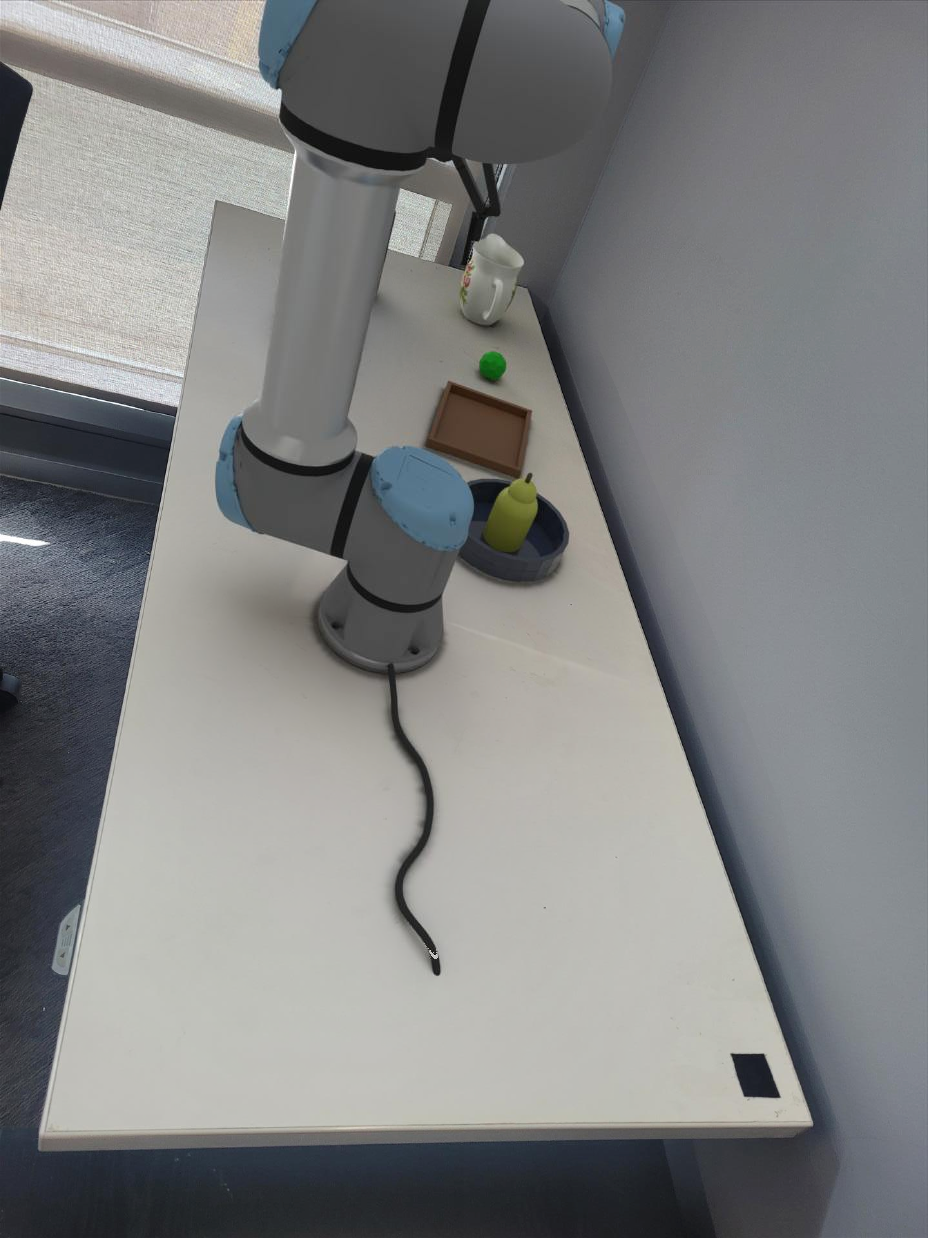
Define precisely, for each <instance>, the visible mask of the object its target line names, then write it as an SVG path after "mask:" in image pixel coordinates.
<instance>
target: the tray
mask: <svg viewBox="0 0 928 1238" xmlns="http://www.w3.org/2000/svg"><path fill="white" fill-rule="evenodd" d="M532 415H533V410H532V409H530V408H527V407H524V406H521V405H518V404H515V403H513V402H509V401H506V400H504V399H501V398H499V397H496V396H493V395H490V394H487V393H485V392H482V391H478V390H477V389H473V388H470V387H467V386H464V385H462V384H460V383H456V382H453V381H451V380H447V383H446V386H445V389H444V391H443V394H442V398H441V400H440V403H439V406H438V409H437V412H436V414H435V418H434V420H433V423H432V426H431V429H430V432H429V435H428V438H427V441H426V443H425V447H426V448H429V449H432V450H434V451H437V452H440V453H443V454H446V455H448V456H452V457H454V458H458V459H461V460H463V461H465V462H469V463H471V464H475V465H478V466H479V467H480V466H481V467H483V468H486V469H489V470H492V471H494V472H497V473H500V474H503V475H506V476H508V477H512V478H515V479H520V476H521V475H522V470H523V465H524V460H525V455H526V448H527V442H528V438H529V431H530V427H531V419H532Z"/></svg>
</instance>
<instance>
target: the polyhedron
mask: <svg viewBox="0 0 928 1238" xmlns="http://www.w3.org/2000/svg"><path fill="white" fill-rule="evenodd" d="M478 364H479V365H478V369H479V372H480V373H481V375H482V376H483V377H484V378H485V379H487V380H490V381H494V380H498V379H500V378H501V377H502V376H503V375H504V373H505V372H506V370H507V361H506V359H505V357H504V355H502V353H500V352H498V351H495V350H491V351H488V352H485V353H484V354H483V355H482V357H481V358H480V360H479V362H478Z"/></svg>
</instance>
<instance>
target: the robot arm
mask: <svg viewBox="0 0 928 1238" xmlns="http://www.w3.org/2000/svg"><path fill="white" fill-rule="evenodd" d="M625 23H626V14H625V11H624V9H623V8H622V7H621V6H619V5H618V4H615V3H613V2H611V1H609V0H265V4H264V9H263V14H262V18H261V23H260V29H259V35H258V45H257V56H258V59H259V60H258V71H259V74H260V77H261V78H262V80H263V81H264V82H265V83H266V84H268V85H269V87H270V88H271V89H273V90H275V91H278V90H280V91H281V94H280V95H281V97H280V105H279V114H278V124H279V127H280V128H281V130H282V131H283V133H284V134H285V136H286V137H287V139H288V140H289V142H290V143H291V145H292V147H293V148H294V155H293V164H292V171H291V178H290V184H289V185H290V186H289V192H288V198H287V207H286V214H285V222H284V228H283V235H282V243H281V249H280V258H279V264H278V265H279V266H278V272H277V281H276V287H275V293H274V302H273V309H272V316H271V324H270V331H269V337H268V346H267V352H266V360H265V367H264V373H263V374H264V375H263V382H262V389H261V395H260V397H258V398H256V399H254V400H253V401H251V402H249V403H248V404H247V406H246V407H245V409H244V410H243V412H240V413H237V414H236V415H234V416H233V418H231V420H230V421H229V423H228V424H227V426H226V428H225V430H224V433H223V435H222V438H221V442H220V445H219V450H218V451H219V457H218V460H217V461H216V464H215V473H214V489H215V499H216V502H217V506H218V508H219V511H220V512H221V514H222V515H223V516H224V518H225V519H227V520H228V521H230V522H231V523H234V524H236V525H239V526H241V527H242V528H245V529H248V530H250V531H251V532H253V533H256V534H258V535H266V536H269V537H272V538H275V539H279V540H282V541H285V542H288V543H291V544H294V545H297V546H301V547H304V548H306V549H310V550H313V551H317V552H319V553H322V554H324V555H327V556H328V555H329V556H331V557H334V558H337V559H340V560H343V561H346V564H345V566H344V567H343V568H342V569H341V570H340V571H339V573H338V574H337V575H336V576H335V577H334V579H333V580H332V581H331V583H329V585H328V586H327V587H326V588H325V590H324V592H323V594H322V596H321V599H320V603H319V607H318V610H317V624H318V628H319V631H320V634H321V636H322V638H323V640H324V641H325V643H326V644H327V645H328V646H329V647H330V648H331V650H332V651H333V652H334V653H336V655H338V656H339V657H341V659H343V660H345V661H347V662H348V663H349V664H352V665H354V666H356V667H358V668H361V669H364V670H367V671H370V672H375V673H380V674H381V673H382V674H387V675H388V685H389V692H390V693H389V694H390V714H391V721H392V724H393V728H394V730H395V733H396V735H397V737H398V739H399V741H400V742H401V744H402V746H404V748H405V749H406V751H407V752H408V754H409V755H410V756H411V758H412V759H413V761H414V762H415V764H416V765H417V768H418V770H419V772H420V774H421V777H422V781H423V784H424V785H423V786H424V791H425V798H426V814H425V822H424V828H423V832H422V833H421V834H422V835H421V837H420V839H419V840H418V842H417V844H416V845H415V846H414V847H413V849H412V850H411V851H410V853H409V854H408V855H407V857H406V858H405V860H404V861H403V862H402V864H401V866H400V867H399V869H398V872H397V875H396V879H395V883H394V894H395V901H396V904H397V907H398V909H399V911H400V913H401V914H402V917H403V918H404V919H405V920H406V921H407V923H408V922H409V923H408V925H410V927H411V926H412V927H411V928H412V929H413V930H414V932H415V933H416V934H417V936H418V937H419V938H420V940H421V941H422V943H423V944H424V943H425V944H424V946H425V945H426V946H427V947H426V946H425V947H426V949H427V948H429V949H427V952H428V954H429V958H430V962H431V968H432V973H433V975H434V976H436V977H438V976H440V975H441V969H442V968H441V960H440V955H439V954H438V958H437V959H434V958H433V957H432V956H431V954H430V953H429V951H428V950H431V952H432V953H433V952H434V953H433V954H434V955H436V954H437V953H436V952H438V950H437V951H436V949H437V947H436V945H435V943H434V940H433V939H432V937H431V936H430V934H429V933H428V932H427V931H426V929H425V928H424V927H423V925H422V924H421V923H420V922H419V921H418V920H417V918H416V917H415V916H414V914H413V913H412V911H411V910H410V908H409V907H408V904H407V902H406V900H405V896H404V881H405V878H406V875H407V873H408V871H409V869H410V868H411V867H412V864H413V863H414V862H415V861H416V859H417V858H418V857H419V855H420V854H421V853H422V851H423V850H424V848H425V847H426V845H427V843H428V841H429V838H430V836H431V832H432V828H433V821H434V814H435V812H434V811H435V810H434V809H435V798H434V789H433V785H432V781H431V778H430V774H429V771H428V767H427V766H426V763H425V762H424V760H423V758H422V757H421V754H419V752H418V751H417V750H416V748H415V747H414V746H413V744H412V743H411V742H410V740H409V739H408V737H407V735H406V734H405V732H404V730H403V727H402V725H401V722H400V721H401V720H400V717H399V706H398V703H399V701H398V689H397V681H396V674H400V673H405V672H410V671H413V670H415V669H419V668H420V667H421V666H423V665H425V664H426V663H428V662H429V661H430V660H431V659H432V657H434V655H435V654H436V652H437V650H438V647H439V645H440V642H441V641H442V638H443V635H444V607H443V594H444V592H445V589H446V587H447V584H448V582H449V580H450V577H451V574H452V572H453V569H454V566H455V563H456V561H457V558H458V556H459V555H458V553H459V550H460V548H461V547H462V545H463V544H464V543H465V541H466V539H467V536H468V530H469V525H470V522H471V519H472V516H473V511H474V501H473V496H472V493H471V490H470V488H469V486H468V484H467V481H466V480H465V479H464V478H463V476H462V474H461V473H460V471H458V470H457V469H456V468H455V467H454V466H453V465H452V464H450V463H449V462H448V461H446V460H445V459H444V458H442V457H441V456H439V455H437V454H435V453H433V452H431V451H429V450H426V449H423V448H420V447H417V446H412V445H403V446H402V447H400V446H398V445H392V446H390V447H387V448H385V449H383V450H381V451H380V452H379V453H378V454H377V455H376V456H374V455H370V454H367V453H365V452H361V451H359V450H356V449H357V445H358V431H357V429H356V426H355V425H354V423H353V422H352V421H351V420H350V418H349V413H350V409H351V405H352V400H353V395H354V392H355V387H356V383H357V380H358V379H357V378H358V374H359V369H360V365H361V360H362V357H363V353H364V348H365V343H366V339H367V335H368V330H369V326H370V321H371V317H372V313H373V309H374V304H375V300H376V296H377V293H376V291H377V287H378V283H379V278H380V274H381V270H382V265H383V261H384V257H385V252H386V248H387V243H388V239H389V235H390V230H391V226H392V222H393V217H394V213H395V210H396V209H397V204H398V200H399V196H400V191H401V187H402V183H403V182H404V181H406V180H408V179H409V178H411V177H413V176H415V175H417V174H418V173H420V172H421V171H423V169H424V168H425V167H426V162H427V160H428V159H434V160H436V161H438V162H439V163H444V164H446V163H449V162H451V161H452V163H453V166H454V168H455V170H456V171H457V172H458V175H459V178H460V180H461V182H462V184H463V186H464V188H465V190H466V192H467V195H468V197H469V199H470V201H471V203H472V206H473V208H474V210H475V211H473V210H472V211H471V215H470V219H469V223H468V228H467V232H466V237H465V240H464V245H463V250H462V253H461V254H462V255H461V260H460V266H464V267H466V266H467V265H468V258H469V254H470V250H471V245H472V241H473V242H479V240H482V235H483V231H484V226H485V222H486V220H487V218H490V217H495V218H497V217H500V216H501V213H502V212H501V211H502V207H501V199H500V196H499V195H500V194H499V189H498V185H497V181H496V180H497V179H496V174H495V170H494V169H495V167H494V165H517V164H519V165H520V164H526V163H531V162H537V161H541V160H545V159H548V158H551V157H555V156H557V155H559V154H561V153H564V152H565V151H567V150H569V149H571V148H573V147H575V146H577V145H578V144H579V143H580V142H582V141H583V140H584V139H585V138H586V137H587V136H588V135H589V134H590V133H591V131H593V130H594V128H595V127H596V126H597V124H598V123H599V121H600V120H601V118H602V117H603V115H604V113H605V109H606V108H607V104H608V102H609V99H610V96H611V92H612V84H613V59H614V57H615V54H616V51H617V48H618V47H619V46H618V45H619V42H620V39H621V36H622V34H623V31H624V26H625ZM467 161H470V162H471V161H472V162H477V163H481V165H482V171H483V175H484V181H485V186H486V190H487V195H488V200H489V201H488V202H489V203H487V204H486V202H485V200H484V197H483V196H482V193H481V191H480V189H479V187H478V184H477V182H476V181H475V177H474V175H473V174H472V171H471V169H470V167H469V165H468V162H467ZM379 284H380V283H379ZM377 292H378V291H377Z"/></svg>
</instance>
